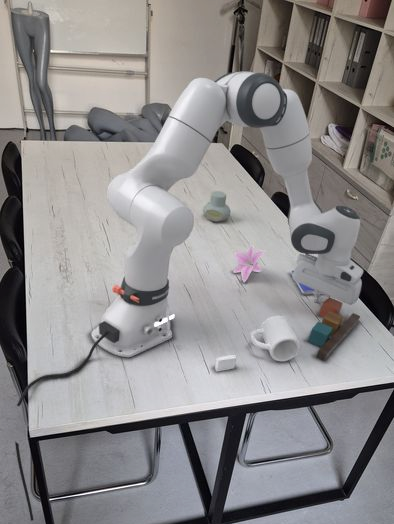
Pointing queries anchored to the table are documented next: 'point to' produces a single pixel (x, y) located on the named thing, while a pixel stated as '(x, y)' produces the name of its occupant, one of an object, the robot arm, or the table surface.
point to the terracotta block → (330, 307)
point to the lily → (248, 262)
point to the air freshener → (217, 207)
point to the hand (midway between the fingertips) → (319, 303)
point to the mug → (277, 338)
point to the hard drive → (305, 288)
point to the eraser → (225, 363)
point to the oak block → (333, 321)
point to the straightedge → (338, 337)
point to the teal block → (320, 334)
